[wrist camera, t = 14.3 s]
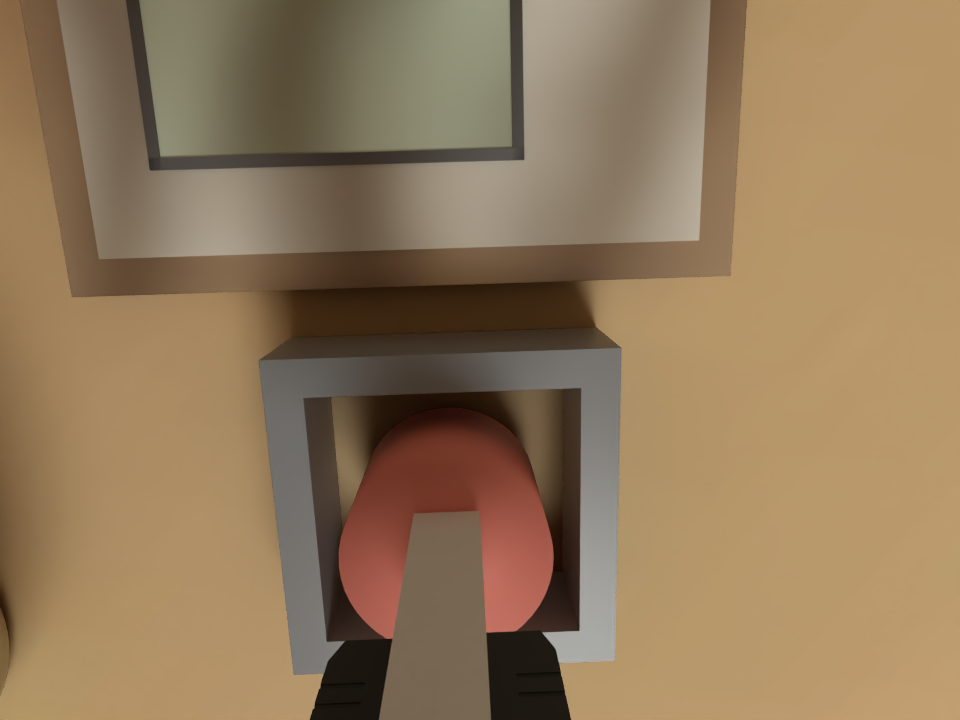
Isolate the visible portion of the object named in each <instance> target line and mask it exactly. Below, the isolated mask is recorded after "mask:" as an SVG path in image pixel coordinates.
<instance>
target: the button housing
mask: <svg viewBox="0 0 960 720" xmlns="http://www.w3.org/2000/svg"><path fill="white" fill-rule="evenodd" d="M259 368H260V377H261V385H262V394H263V403H264V412H265V421H266V430H267V439H268V448H269V457H270V466H271V475H272V484H273V493H274V502H275V511H276V520H277V529H278V538H279V547H280V556H281V565H282V574H283V583H284V592H285V601H286V610H287V619H288V628H289V637H290V646H291V655H292V664H293V673H294V675H303V674H324V672H325V669H326V665H327V662H328V660H329V659H330V658H331V657H332V656H333V654H334V653H335V652H336V651H337V650H338V649H339V647H340V646H341V645H342V644H343V643H344V642H345V641H346V640H370V639H386V638H385V637H383V636H382V635H380V634H379V633H377V632H376V631H375V630H373V629H372V628H371V627H370V626H369V625H368V624H367V623H366V622H365V621H364V620H363V619H362V618H361V617H360V615H359V614H358V613H357V612H356V610H355V609H354V607H353V606H352V604H351V603H350V601H349V599H348V596H347V594H346V592H345V590H344V587H343V584H342V580H341V576H340V570H339V546H340V540H341V536H342V523H341V512H340V500H339V488H338V477H337V465H336V454H335V442H334V430H333V419H332V407H331V397H344V396H372V395H400V394H428V393H456V392H484V391H512V390H540V389H563V571H560V572H552V576H551V580H550V584H549V586H548V589H547V592H546V594H545V596H544V598H543V600H542V602H541V604H540V605H539V607H538V608H537V610H536V611H535V612H534V614H533V615H532V616H531V617H530V618H529V620H528V621H527V622H526V623H525V624H524V625H523V626H522V627H520V628H519V629H518V630H517V631H535V630H540V631H541V632H542V633H543V634H544V635H545V637H546V638H547V639H548V640H549V641H550V643H551V644H552V645H553V646H554V647H555V649H556V652H557V657H558V662H559V663H572V662H595V661H615V626H616V580H617V533H618V486H619V440H620V393H621V347H620V346H618V345H617V344H616V343H615V342H614V341H612V340H611V339H610V338H609V337H608V336H606V335H605V334H604V333H603V332H601V331H600V330H599V329H598V328H597V327H593V328H564V329H534V330H505V331H475V332H446V333H416V334H387V335H357V336H327V337H298V338H290V339H289V340H287V341H286V342H284V343H283V344H282V345H280V346H279V347H277V348H276V349H274V350H273V351H272V352H270V353H269V354H267V355H266V356H264V357H263V358H262V359H260V360H259Z"/></svg>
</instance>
